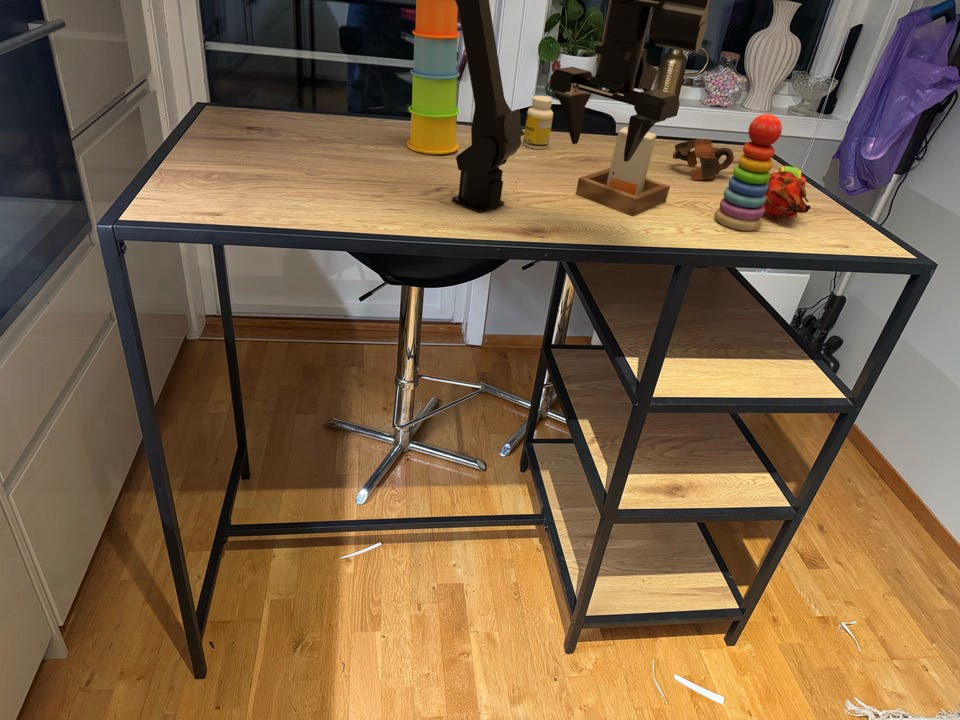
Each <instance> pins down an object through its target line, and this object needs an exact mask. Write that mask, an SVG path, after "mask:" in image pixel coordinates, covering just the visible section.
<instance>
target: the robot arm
mask: <svg viewBox="0 0 960 720" xmlns="http://www.w3.org/2000/svg"><path fill="white" fill-rule="evenodd" d="M608 1H609V2H608V8H607V13H606V18H605V22H604V28H603V33H602V39H601V43H600V44H596V45H595V50H594V53H595V54H598V58H597V59H598V60H597V66H596V70H595V75H593V73H592V71H590V70H588V69H583V68H579V67H575V66H569V67H568V66H566V67H560V68H555V69H554V70H553V71H552V72H551V74H550V76H549V79H548V80H549V82H548V89H549V90H551V91H554V92H555V93H554V97H555V98H556V99H558V100H559V103H560V106H561V108H562V112H563V115H564V118H565V121H566V125H567V128H568V134H569V136H570V140H571V143H572V145H576V144H578V143H579V141H580V137H581V132H582V127H583V121H584V116H585V115H584V114H585V109H586V105H587V104H588V101H589V99H590V98H591V96H592V94H593V95H597V96H600V97H603V98H607V99H610V100H613V101H616V102H620V103H624V104H627V105H631V106H633V108H634V111H635V114H633V115H630V117H629V122H628V126H627V127H628V133H627V139H626V144H625V150H624V161H625V162H627V161H629V160H630V159H631V157H632V156H633V154H634V152H635V151H636V149H637V148H638V146H639V144H640V143H641V141H642V140H643V138H644V136H645V135H646V134H647V132H649V131H651V129H652V128H653V126H654V125H655V124H657V123H661V122H664V121H666V120H667V119H670V118H674V117H678V113H679V108H680V105H681V104H680V99H679V96H678V94H675V93H671V92H669V91H664V90H660V89H657V88H655V89H653V87H654V83H655V81H656V79H657V78H656V77H657V75H658V73H659V70H658V69H657V68H656V67H654V66H653V65H651V63H648V62H647V56H648V53H647V52H648V51H647V50H648V49H645V48H644V45H645V40H646V36H647V31H648V33H649V36H650V39H654V45H655V46H658V47H663V48H667V49H668V48H669V49H673V50H674V49H675V50H679V51H684V52H690V53H695V54H698V52H699V51H700V48H701V46H702V45H703V41H704V38H705V35H706V31H707V28H708V23H709V22H707V21H708V16H709V8H710V7H709V5H710V2H711V0H658V1H655V0H608ZM455 2H456V4H457V7H458V16H459V22H460V27H461V33H462V35H461V36H462V40H463V45H464V50H465V56H466V61H467V68H468V69H467V70H468V74H469V79H470V84H471V90H472V97H473V101H474V111H473V115H472V121H471V127H470V133H471V134H470V135H471V139H470V141H471V145H470V146H468V147H467V148H465V149H464V150H463V151H461V152H460V153H459V154H458V155H456V156H455V161H456V164H457V165H456V166H457V169H458V170H459V171H460V176H459V185H458V186H459V187H458V188H459V189H458V195H455V196H452V197H451V201H452V202H454V203H457V204H459V205H461V206H462V207H463V206H464V207H465V208H468V209H470V210H473V211H474V212H478V213H483V212H487V211H490V210H493V209H496V208H498V207H502V206H504V205H505V201H504V200H502V193H503V185H504V180H502V177H503V174H504V173H503V172H504V171H503V170H502V169H500V167H501V166H502V165H505V164H506V163H507V161H508V159H509V158H510V157H512V156H514V154H516V153H517V151H518V150H519V148H520V147H521V143H522V137H524V132H525V131H524V130H523V128H522V125H521V123H522V122H521V111H520V109H519V108H516V109H514V110H511V107H510V106H509V105H508V103H507V101H506V98H505V94H504V87H503V81H502V76H501V68H500V61H499V55H498V51H497V50H498V48H497V44H496V43H497V42H496V37H495V32H494V31H495V30H494V25H493V17H492V12H491V5H490V0H455ZM652 8H653V12H652ZM651 13H652V16H651ZM649 22H650V23H649ZM648 27H649V28H648ZM648 29H649V30H648ZM635 89H636V90H635ZM637 90H642V91H637Z"/></svg>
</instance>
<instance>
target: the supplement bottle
mask: <svg viewBox="0 0 960 720" xmlns="http://www.w3.org/2000/svg"><path fill="white" fill-rule="evenodd" d="M552 102H553V99H552V98H550V97H547V96H543V95H535V96H533V97H532V101H531V105H532V106H531V107H529V108H528V110H527V112H526V120H525V126H524V131H523V132H524V135H523V139H522V140H523V142H522V143H523V145H524V146H525V147H526V146H527V148H528V149H532V148H533V150H544V149H545V150H546V149H547V148H548V147H549V143H550V136H551V131H552V126H553V119H554V118H553V117H554V112H553V110H552V109H551V107H552V105H553V104H552Z"/></svg>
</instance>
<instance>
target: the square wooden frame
mask: <svg viewBox="0 0 960 720" xmlns="http://www.w3.org/2000/svg"><path fill="white" fill-rule="evenodd" d="M609 171H610V167H609V168H606V169H602V170H599V171H597V172H593V173H589V174H587V175H583V176H581V177H578V181H577V186H576V191H575V195H577V196H579V197H582V198H585V199H587V200H590V201H593V202H595V203H597V204H600V205H603V206H606V207H608V208H611V209H614V210H616V211H618V212H621V213H624V214H626V215H629V216H632V217H634V216H636V215H638V214H641V213H643V212H646V211H648V210H650V209H653V208H655V207H657V206H660V205H662V204H664V203H666V202H667V198H668V196H669V191H670V188H671V185H668V184H665V183H662V182H660V181H657V180H653V179H652V178H648V177H646V178H645V182H644V186H643V190H642V193H640V194H637V195H635V196H634V195H631V194H628V193H626V192H623V191H620V190H617V189H615V188H612V187H609V186H606V184H607V180H608V176H609Z"/></svg>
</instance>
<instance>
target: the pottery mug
mask: <svg viewBox="0 0 960 720" xmlns="http://www.w3.org/2000/svg"><path fill="white" fill-rule="evenodd" d="M693 149H694V150H693ZM722 156H725V160H724V161H723V162H722V163H720V161H719V160H720V159H721V158H722ZM697 158H698V159H699V161H700V167H697V168H693V167H695V166H697V165H698V161H697ZM672 159H674V160H681V161H684V162H687V165H688V166H689V168H693V169H690V173H691V176H690V177H691V181H701V180H706V181H707V180H708V181H715V178H716V175H718V174H719V173H720V172H721V171H723V170H726V169H727V168H729V166H731V164H733V162H734V159H735V156H734V152H733V150H732V149H731V148H728V147H719V148H717V147H714V146H713V145H712V139H710V138H709V139H707V138H699V139H692V140H691V139H690V140H687V141H686V140H685V141H683V142H679V143H677V144H675V145H674V152H673V154H672Z"/></svg>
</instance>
